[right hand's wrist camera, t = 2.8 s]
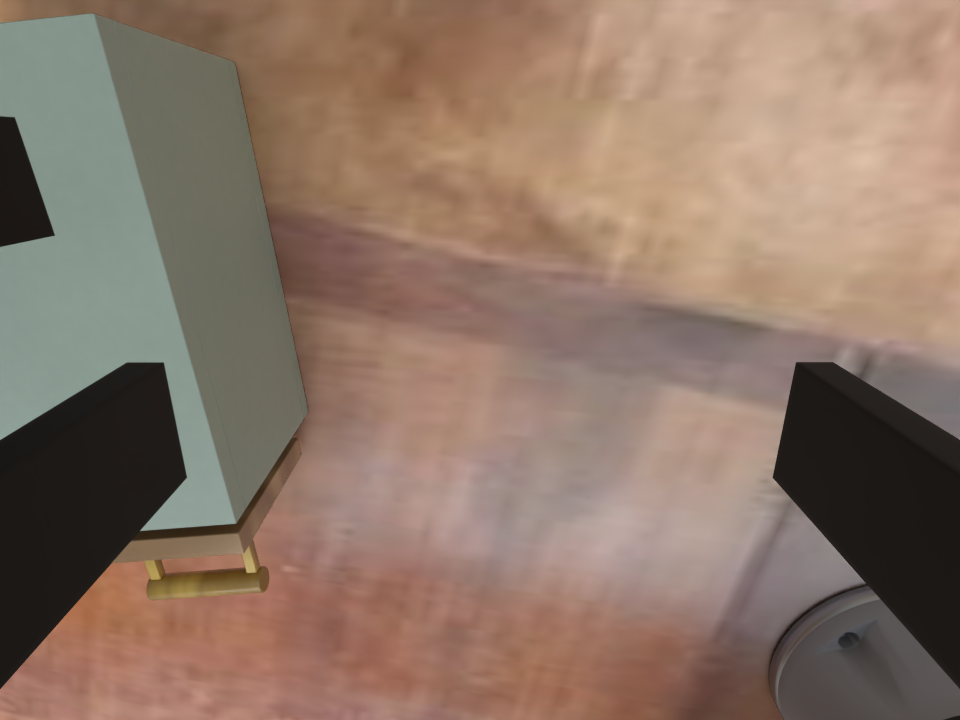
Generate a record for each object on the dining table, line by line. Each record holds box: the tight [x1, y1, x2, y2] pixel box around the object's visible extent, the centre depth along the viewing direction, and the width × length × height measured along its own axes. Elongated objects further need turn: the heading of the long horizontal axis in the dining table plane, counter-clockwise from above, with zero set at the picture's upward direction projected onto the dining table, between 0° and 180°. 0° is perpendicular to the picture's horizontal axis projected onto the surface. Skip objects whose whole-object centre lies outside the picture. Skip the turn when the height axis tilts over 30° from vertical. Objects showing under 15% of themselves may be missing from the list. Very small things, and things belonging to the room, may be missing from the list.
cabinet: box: [0, 13, 308, 531], centre depth 28 cm, size 20×12×12 cm, turn 5°
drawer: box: [112, 438, 302, 600], centre depth 30 cm, size 24×10×9 cm, turn 5°
